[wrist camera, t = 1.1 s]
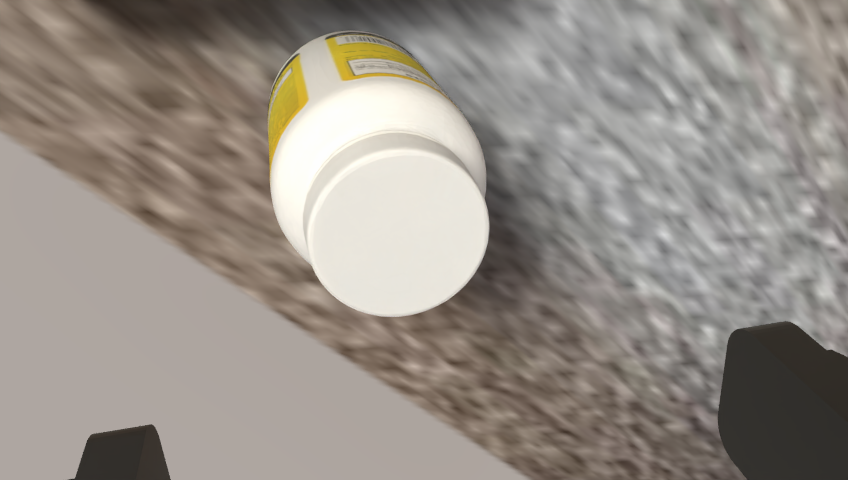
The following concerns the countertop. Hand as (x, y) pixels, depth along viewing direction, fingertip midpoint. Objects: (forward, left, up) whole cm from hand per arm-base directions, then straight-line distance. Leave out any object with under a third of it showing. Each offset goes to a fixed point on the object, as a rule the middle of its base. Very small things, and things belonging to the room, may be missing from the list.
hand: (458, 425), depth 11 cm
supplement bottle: (0, 0, -16) cm, 16 cm away
